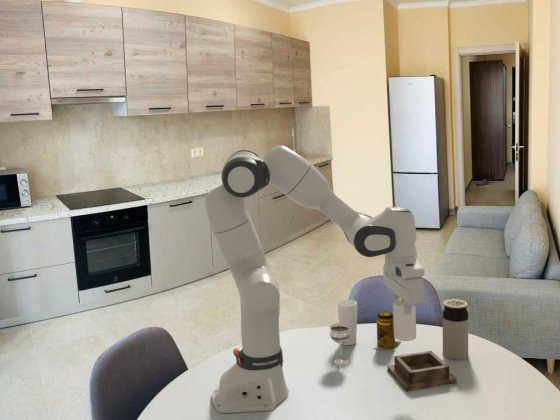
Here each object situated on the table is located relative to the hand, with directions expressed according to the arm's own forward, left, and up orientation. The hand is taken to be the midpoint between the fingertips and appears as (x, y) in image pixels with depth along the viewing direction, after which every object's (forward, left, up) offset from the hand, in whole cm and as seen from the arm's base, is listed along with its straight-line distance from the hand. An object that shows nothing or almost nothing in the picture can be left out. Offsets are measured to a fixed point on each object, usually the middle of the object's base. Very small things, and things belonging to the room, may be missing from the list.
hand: (402, 309), depth 155 cm
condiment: (+7, +28, -24) cm, 38 cm away
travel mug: (+25, +14, -24) cm, 37 cm away
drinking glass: (-5, +34, -24) cm, 42 cm away
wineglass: (-12, +21, -24) cm, 35 cm away
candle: (+1, 0, -8) cm, 8 cm away
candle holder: (+8, +4, -24) cm, 26 cm away
